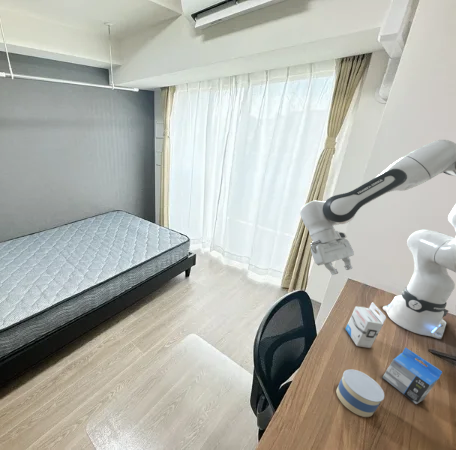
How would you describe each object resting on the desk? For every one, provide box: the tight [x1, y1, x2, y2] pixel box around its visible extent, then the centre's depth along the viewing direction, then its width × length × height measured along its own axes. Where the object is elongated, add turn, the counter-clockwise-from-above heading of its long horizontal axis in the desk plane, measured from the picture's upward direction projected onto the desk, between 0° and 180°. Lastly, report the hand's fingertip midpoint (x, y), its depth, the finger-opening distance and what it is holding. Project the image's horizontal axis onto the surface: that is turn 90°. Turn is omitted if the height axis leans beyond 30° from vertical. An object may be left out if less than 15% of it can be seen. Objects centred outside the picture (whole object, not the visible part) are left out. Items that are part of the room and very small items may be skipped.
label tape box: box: [382, 346, 443, 405], centre depth 73 cm, size 9×4×12 cm, turn 20°
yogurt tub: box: [335, 368, 385, 418], centre depth 70 cm, size 9×9×7 cm
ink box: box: [345, 302, 387, 349], centre depth 90 cm, size 9×5×15 cm, turn 168°
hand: (342, 271), depth 95 cm, fingers open, 8 cm apart
